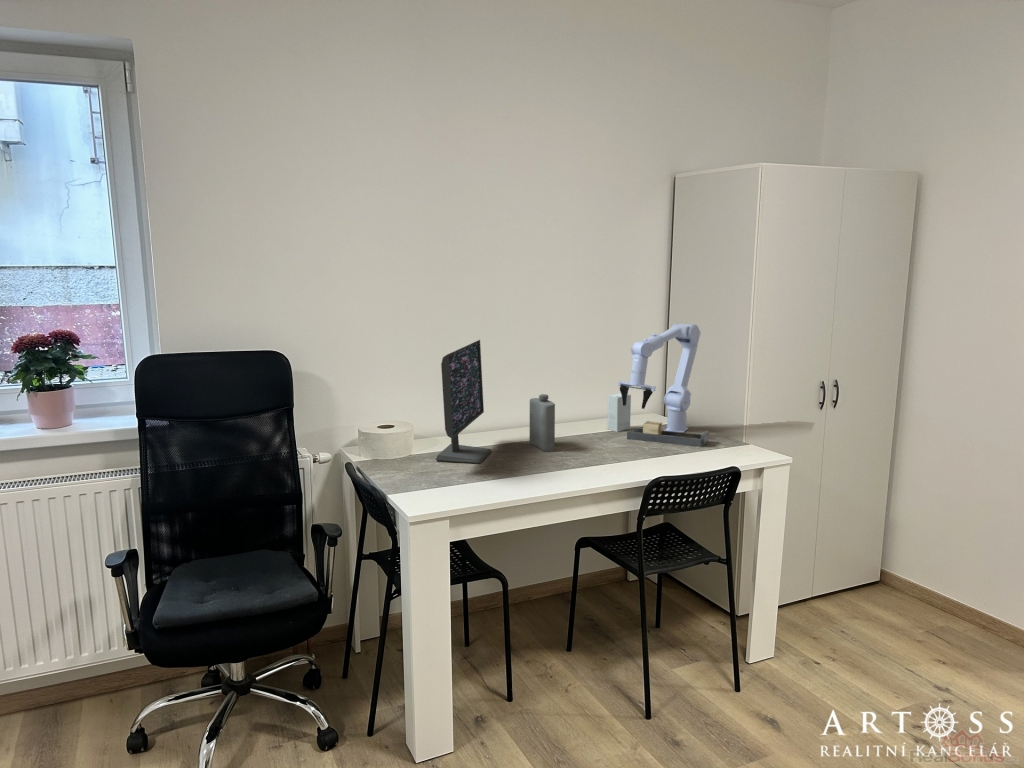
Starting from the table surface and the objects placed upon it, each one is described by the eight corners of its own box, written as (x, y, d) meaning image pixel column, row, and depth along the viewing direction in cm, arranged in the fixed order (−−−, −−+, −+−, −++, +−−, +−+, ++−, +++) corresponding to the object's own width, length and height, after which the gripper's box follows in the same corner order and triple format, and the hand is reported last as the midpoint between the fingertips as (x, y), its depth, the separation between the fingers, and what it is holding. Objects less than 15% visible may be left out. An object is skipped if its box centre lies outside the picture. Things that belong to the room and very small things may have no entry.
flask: (558, 450, 285) (559, 397, 281) (544, 452, 282) (545, 398, 279) (541, 441, 298) (541, 391, 295) (527, 443, 296) (527, 392, 292)
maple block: (647, 433, 306) (647, 421, 305) (661, 435, 303) (662, 422, 303) (642, 436, 301) (643, 424, 300) (657, 438, 298) (658, 425, 297)
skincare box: (620, 426, 323) (621, 392, 321) (630, 429, 319) (631, 394, 316) (606, 429, 318) (607, 394, 316) (617, 432, 313) (617, 396, 311)
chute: (633, 434, 310) (633, 423, 309) (708, 441, 297) (708, 430, 296) (626, 438, 302) (627, 427, 301) (703, 447, 289) (704, 435, 289)
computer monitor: (470, 474, 254) (469, 354, 247) (424, 471, 257) (421, 353, 250) (499, 443, 296) (499, 339, 289) (458, 441, 299) (457, 339, 292)
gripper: (617, 369, 298) (612, 404, 299) (654, 375, 292) (649, 410, 293) (622, 370, 305) (618, 403, 306) (658, 375, 299) (653, 409, 300)
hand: (633, 407), depth 300 cm, fingers open, 7 cm apart
